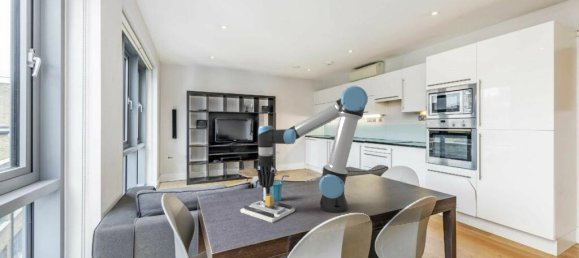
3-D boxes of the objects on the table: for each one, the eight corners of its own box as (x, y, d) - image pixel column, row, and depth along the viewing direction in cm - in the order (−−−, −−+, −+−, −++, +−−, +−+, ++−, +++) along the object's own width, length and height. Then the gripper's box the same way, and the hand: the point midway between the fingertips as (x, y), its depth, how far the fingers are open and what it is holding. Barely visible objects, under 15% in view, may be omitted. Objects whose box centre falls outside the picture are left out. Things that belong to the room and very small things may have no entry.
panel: (294, 211, 124) (294, 205, 124) (272, 222, 109) (272, 215, 109) (264, 202, 137) (264, 197, 137) (240, 212, 123) (240, 205, 122)
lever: (274, 208, 122) (274, 195, 122) (270, 210, 120) (270, 197, 120) (268, 207, 125) (268, 194, 125) (264, 208, 122) (264, 195, 122)
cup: (287, 197, 148) (287, 173, 147) (290, 200, 140) (290, 176, 140) (265, 198, 144) (265, 174, 144) (267, 203, 137) (267, 177, 136)
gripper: (279, 155, 122) (280, 200, 123) (261, 153, 130) (262, 195, 131) (270, 156, 116) (270, 203, 117) (251, 154, 124) (252, 199, 125)
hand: (266, 199), depth 124 cm, fingers closed
